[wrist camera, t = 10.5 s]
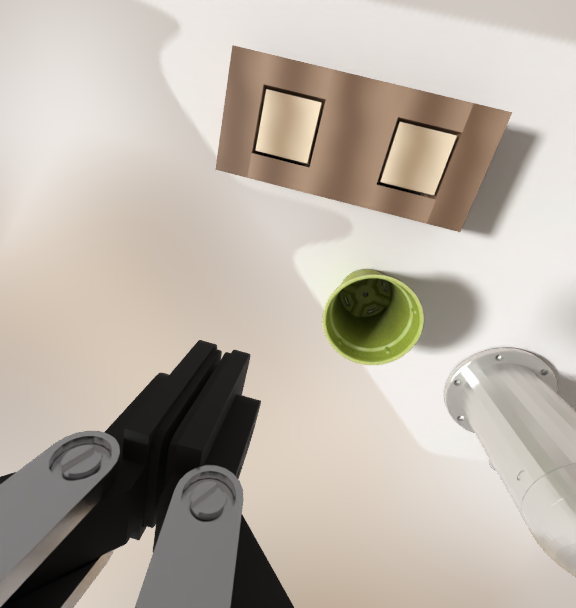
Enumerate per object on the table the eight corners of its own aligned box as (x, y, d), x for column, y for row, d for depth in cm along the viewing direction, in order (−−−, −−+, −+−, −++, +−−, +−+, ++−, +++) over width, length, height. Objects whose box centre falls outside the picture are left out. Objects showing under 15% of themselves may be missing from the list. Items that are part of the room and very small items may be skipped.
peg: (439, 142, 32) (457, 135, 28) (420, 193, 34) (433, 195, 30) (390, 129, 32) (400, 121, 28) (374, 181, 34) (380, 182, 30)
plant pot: (345, 340, 41) (347, 378, 33) (311, 276, 39) (305, 300, 31) (417, 310, 39) (438, 344, 31) (385, 240, 36) (400, 257, 28)
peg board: (485, 122, 31) (512, 112, 26) (443, 225, 35) (460, 232, 30) (247, 65, 32) (232, 45, 27) (230, 171, 36) (215, 169, 31)
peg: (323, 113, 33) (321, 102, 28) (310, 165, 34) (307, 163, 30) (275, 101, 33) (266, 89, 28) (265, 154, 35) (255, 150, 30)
